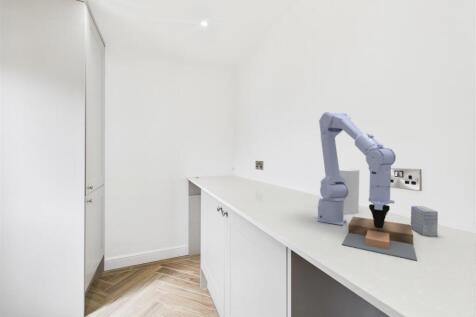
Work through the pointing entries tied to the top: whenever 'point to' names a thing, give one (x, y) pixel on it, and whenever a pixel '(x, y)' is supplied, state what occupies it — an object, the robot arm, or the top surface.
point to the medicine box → (424, 220)
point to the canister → (351, 190)
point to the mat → (394, 248)
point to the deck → (395, 230)
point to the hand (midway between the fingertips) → (378, 227)
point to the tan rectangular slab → (377, 239)
